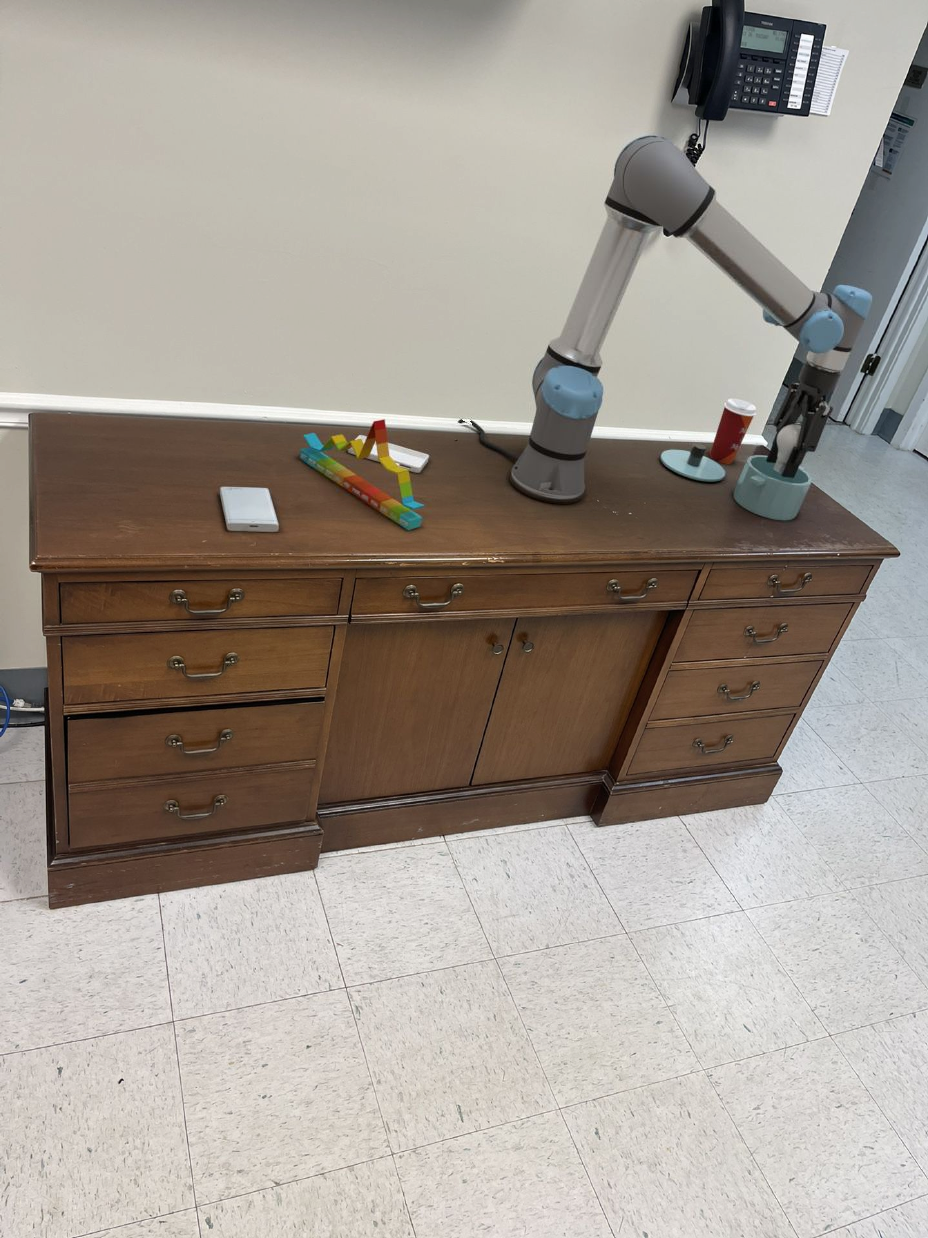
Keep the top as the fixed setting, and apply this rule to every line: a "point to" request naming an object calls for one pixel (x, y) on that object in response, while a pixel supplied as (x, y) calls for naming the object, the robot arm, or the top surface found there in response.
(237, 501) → the hard drive
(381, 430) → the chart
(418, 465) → the phone case
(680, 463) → the lid
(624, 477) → the top surface
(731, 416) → the paper cup
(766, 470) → the pot
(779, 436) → the lightbulb
